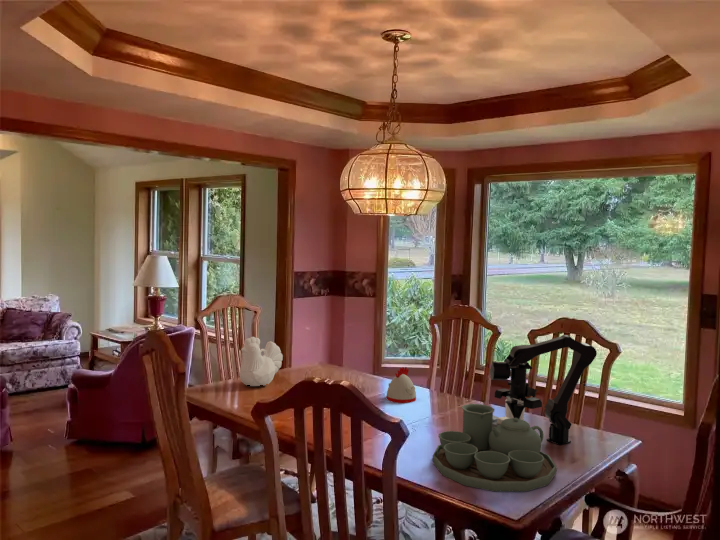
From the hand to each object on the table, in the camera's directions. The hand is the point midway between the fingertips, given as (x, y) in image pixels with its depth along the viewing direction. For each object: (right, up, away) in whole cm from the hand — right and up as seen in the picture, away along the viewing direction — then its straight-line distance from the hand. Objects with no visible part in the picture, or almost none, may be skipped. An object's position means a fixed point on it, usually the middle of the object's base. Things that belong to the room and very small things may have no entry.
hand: (516, 420), depth 225 cm
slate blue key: (-7, -4, +10) cm, 13 cm away
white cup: (+4, -7, +19) cm, 21 cm away
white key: (-3, -3, +5) cm, 7 cm away
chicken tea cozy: (-40, -4, +55) cm, 68 cm away
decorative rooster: (-108, -1, +74) cm, 131 cm away
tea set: (-15, -10, -26) cm, 31 cm away
